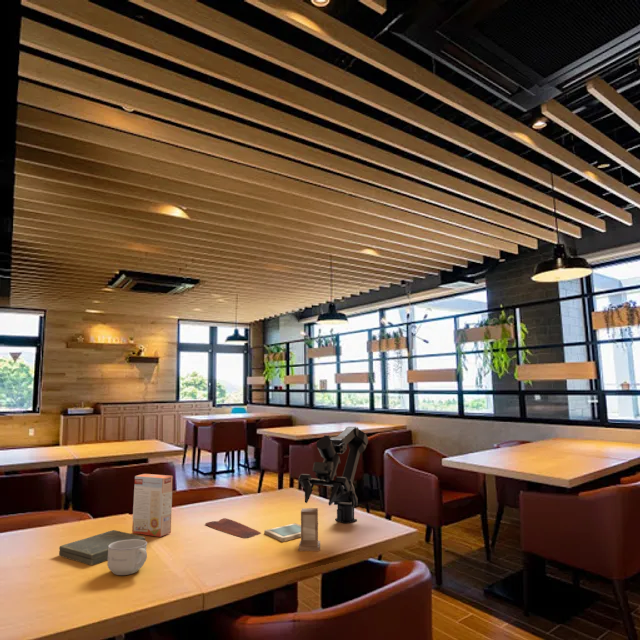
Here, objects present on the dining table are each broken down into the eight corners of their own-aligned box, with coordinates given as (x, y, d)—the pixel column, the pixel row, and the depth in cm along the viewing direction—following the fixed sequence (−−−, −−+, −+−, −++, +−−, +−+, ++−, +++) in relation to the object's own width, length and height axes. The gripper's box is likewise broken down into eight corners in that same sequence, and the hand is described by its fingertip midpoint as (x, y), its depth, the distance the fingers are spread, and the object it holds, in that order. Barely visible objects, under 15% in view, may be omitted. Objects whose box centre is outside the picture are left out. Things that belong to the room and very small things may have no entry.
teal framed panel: (295, 526, 181) (295, 522, 181) (314, 533, 171) (314, 530, 172) (264, 533, 172) (264, 529, 172) (282, 541, 163) (282, 537, 163)
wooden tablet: (203, 526, 184) (203, 521, 185) (224, 521, 191) (224, 516, 192) (242, 541, 166) (242, 536, 166) (264, 534, 173) (264, 530, 173)
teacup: (101, 571, 138) (102, 543, 139) (137, 562, 146) (138, 535, 147) (119, 585, 128) (121, 554, 129) (157, 574, 136) (158, 545, 137)
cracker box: (171, 533, 174) (173, 475, 177) (160, 538, 169) (162, 478, 172) (143, 528, 180) (145, 472, 183) (131, 533, 174) (133, 475, 177)
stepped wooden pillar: (300, 543, 161) (299, 507, 162) (320, 543, 161) (320, 507, 162) (298, 550, 154) (298, 512, 156) (319, 550, 154) (319, 512, 155)
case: (91, 567, 143) (145, 548, 160) (92, 553, 143) (146, 535, 160) (58, 557, 151) (113, 540, 169) (59, 544, 152) (113, 528, 169)
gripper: (300, 451, 176) (286, 487, 164) (346, 454, 168) (335, 492, 157) (309, 470, 182) (296, 506, 170) (354, 473, 174) (344, 511, 163)
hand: (317, 503), depth 165 cm, fingers open, 9 cm apart
